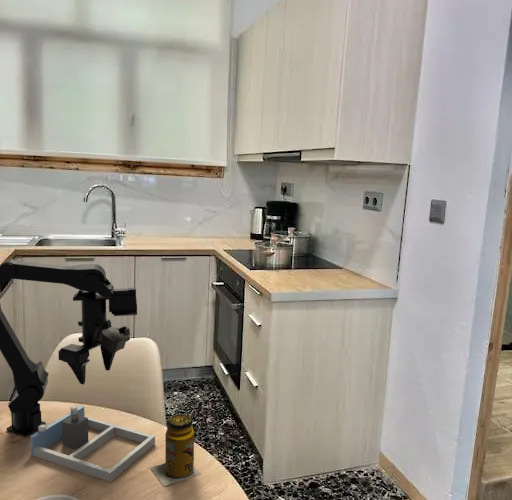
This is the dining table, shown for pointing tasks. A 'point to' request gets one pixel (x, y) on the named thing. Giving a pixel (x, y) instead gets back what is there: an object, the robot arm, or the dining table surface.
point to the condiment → (178, 451)
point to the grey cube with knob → (75, 431)
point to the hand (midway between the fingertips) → (95, 376)
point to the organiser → (88, 446)
